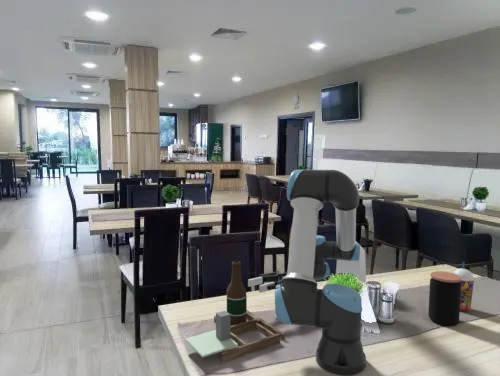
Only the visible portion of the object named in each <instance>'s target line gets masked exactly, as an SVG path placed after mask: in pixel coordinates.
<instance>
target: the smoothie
mask: <svg viewBox="0 0 500 376" xmlns="http://www.w3.org/2000/svg"><path fill="white" fill-rule="evenodd" d="M461 266H462V267H461V268H457V269H456V270H454V271H453V273H454V274H457V275H459V276H460V277H461V281H460V283H461V297H460V312H469V311H470V309H471V307H472V298H473V293H474V292H473V291H474V285H475V284H474V283H475V277H474V276H473V273H472V272H471V271H470V270H469V269H466V268H465V261H462V265H461Z"/></svg>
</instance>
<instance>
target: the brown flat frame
mask: <svg viewBox="0 0 500 376" xmlns="http://www.w3.org/2000/svg"><path fill="white" fill-rule="evenodd" d="M213 321H214V323H216V315H214V316H213ZM254 330H257V331H258V332H259V333H261V334H262V335H264V336H266V337H263V338H260V339H257V340H253V341H251V342H248V343H246V342H245V341H244V340H242V339H241V338H240V337H238V335H241V334H244V333H248V332H251V331H254ZM230 337H231V339H232V340H233V341H235V342H236V343H237V344H238V346H236V347H233V348H230V349H227V350H224V351H221V352H220V356H221V357H220V360H221V361H220V362H221V363H223V364H224V363H226V362H230V361H233V360H235V359H237V358H241V357H244V356H247V355H249V354H253V353H254V352H255V353H256V352H258V351H261V350H264V349H267V348H270V347H272V346H275V345H278V344H280V343H281V340H282V341H284V340H286V333H284V332H283V331H281V330H280V329H279V328H276V326H274V325H272V324H271V323H270V322H267V321H266V320H264V319H262V318H261V317H259V316H258V315H256V314H254V313H253V312H251V311H249V310H248V309H247V320H246V322H242V323H239V324H235V325H232V326H230Z"/></svg>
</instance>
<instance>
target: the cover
mask: <svg viewBox="0 0 500 376" xmlns="http://www.w3.org/2000/svg"><path fill="white" fill-rule="evenodd" d="M215 316H216V322H215V329H213V330H211V331H206V332H203V333H200V334H196V335H194V336H190V337H187V338H184V340H185V342H186V343H187V344H188V345H189V346H190V347H191V348H192V349H193V350H194V351H195V352H196V353H197V354H198V355H199V356H200V357H201V358H206V357H209V356H211V355H215V354H218V353H221V352H223V351H226V350H229V349H232V348H235V347H238V346H239V345H238V344H237V343H236V342H235V341H233V340H232V339H231V337H230V314H229V313H228V312H227V310H223V311H219V312H216V313H215Z"/></svg>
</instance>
